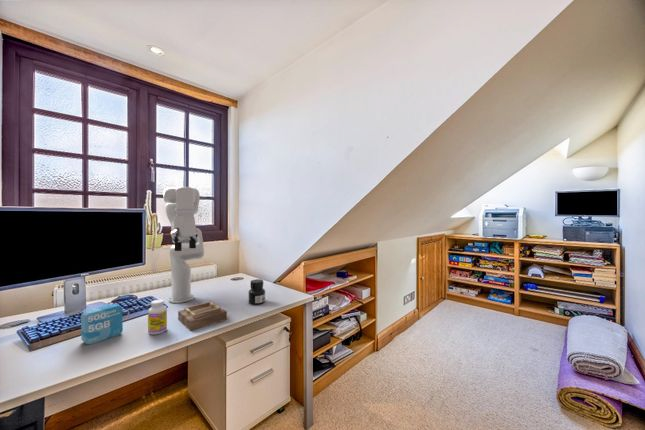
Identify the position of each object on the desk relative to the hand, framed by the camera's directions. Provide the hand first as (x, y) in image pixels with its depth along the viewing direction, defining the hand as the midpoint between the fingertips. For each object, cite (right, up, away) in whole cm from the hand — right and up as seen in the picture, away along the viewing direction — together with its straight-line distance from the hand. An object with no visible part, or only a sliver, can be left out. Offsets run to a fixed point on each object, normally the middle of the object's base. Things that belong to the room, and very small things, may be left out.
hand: (185, 249), depth 125 cm
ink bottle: (+28, -32, +21) cm, 48 cm away
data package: (-23, -33, -19) cm, 45 cm away
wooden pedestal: (+9, -33, -1) cm, 34 cm away
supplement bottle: (-5, -33, -13) cm, 36 cm away
